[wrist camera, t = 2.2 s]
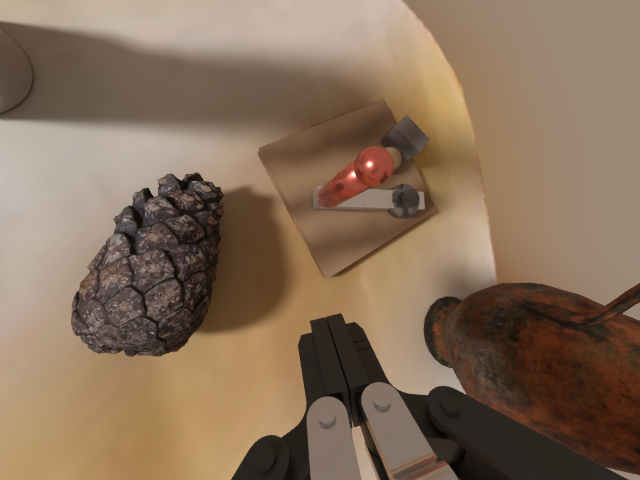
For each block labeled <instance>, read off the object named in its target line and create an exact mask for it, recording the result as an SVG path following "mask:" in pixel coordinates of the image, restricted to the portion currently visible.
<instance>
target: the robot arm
mask: <svg viewBox="0 0 640 480" xmlns="http://www.w3.org/2000/svg"><path fill="white" fill-rule="evenodd" d="M32 81H33V77H32V68H31V65H30V62H29V60H28V59H27V57H26V55H25V54H24V52H23V51H22V50H21V49H20V48H19V47H18V46H17V45H16V44H15V43H14V42H13V41H12V40H11V39H10V38H9V37H8V36H7V35H6V34H5V33H4V32H3V31H2V30H1V29H0V113H1V112H4V111H7V110H9V109H11V108H13V107H14V106H16V105H18V104H19V103H20V102H21V101H22V100H23V99H24V98H25V97H26V96H27V94H28V92H29V91H30V89H31V85H32ZM310 324H311V330H312V333H308V334H304V335H301V337H300V341H299V344H298V349H299V355H300V362H301V368H302V375H303V381H304V388H305V394H306V402H307V406H306V412H305V414H304V417H303V419H302V420H301V422H300V423H299V424H298V425H297V426H296V427H295V428H294V429H293V430H291V431H290V432H288V433H287V434H286V435H284V436H283V437H282V438H280V437H278V436H275V435H269V436H265V437H262V438H261V439H259V440H258V441H257V442H255V443H254V444H253V446H252V447H251V448H250V450H249V451H248V453H247V454H246V456H245V458H244V459H243V461H242V463H241V464H240V466H239V468H238V469H237V471H236V472H235V474H234V476H233V477H232V479H231V480H361V475H360V471H359V466H358V461H357V456H356V452H355V447H354V442H353V438H352V430H351V428H352V422H353V425H354V427H357V426H361V430H362V433H363V436H364V439H365V448H366V451H367V454H368V456H369V459H370V462H371V464H372V467H373V469H374V472H375V475H376V477H377V480H628V479H626V478H624V477H622V476H620V475H618V474H616V473H614V472H613V471H611V470H609V469H607V468H605V467H603V466H601V465H599V464H597V463H595V462H593V461H592V460H590V459H588V458H586V457H584V456H582V455H580V454H578V453H576V452H574V451H572V450H571V449H569V448H567V447H565V446H563V445H561V444H559V443H557V442H555V441H553V440H551V439H550V438H548V437H546V436H544V435H542V434H540V433H538V432H536V431H534V430H532V429H530V428H529V427H527V426H525V425H523V424H521V423H519V422H517V421H515V420H513V419H511V418H509V417H508V416H506V415H504V414H502V413H500V412H498V411H496V410H494V409H492V408H490V407H488V406H487V405H485V404H483V403H481V402H479V401H477V400H475V399H473V398H471V397H469V396H467V395H466V394H464V393H462V392H460V391H458V390H456V389H454V388H451V387H447V386H439V387H436V388H434V389H432V390H431V391H430V393H429V395H416V394H407V393H404V392H401V391H399V390H398V389H396V388H395V387H393V386H392V385H391V384H390V382H389V381H388V379H387V378H386V376H385V374H384V372H383V369H382V367H381V365H380V363H379V361H378V359H377V357H376V355H375V353H374V351H373V349H372V347H371V345H370V342H369V340H368V338H367V336H366V334H365V332H364V330H363V329H362V328H361V327H360V326H359V325H358V324H357V323H355V322H353V323H348V324H346V323H345V321H344V318H343V316H342V314H341V313H340V314H336V315H332V316H328V317H326V318H325V317H324V318H320V319H316V320H311V321H310ZM351 419H352V420H351Z"/></svg>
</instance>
